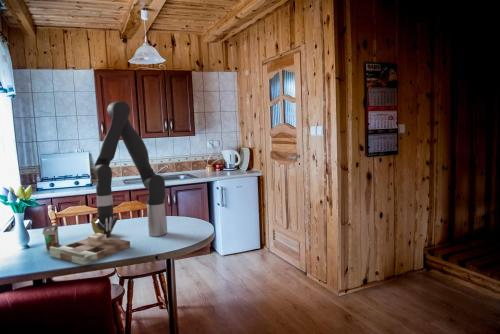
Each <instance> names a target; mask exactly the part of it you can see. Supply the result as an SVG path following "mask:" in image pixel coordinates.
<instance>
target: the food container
mask: <svg viewBox="0 0 500 334" xmlns="http://www.w3.org/2000/svg"><path fill="white" fill-rule="evenodd" d="M58 228H59V225H58V224H53V225H49V226H46V227H44V228H43V230H42V233H41V234H42V235H43V236H44V241H45V246H46V250H49V251H50V248H49V247H51V246H52V247H56V248H58V247H59V245H60V239H59V229H58Z"/></svg>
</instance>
